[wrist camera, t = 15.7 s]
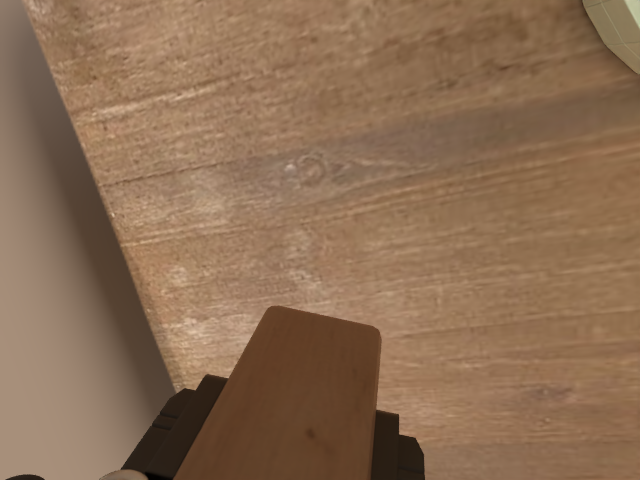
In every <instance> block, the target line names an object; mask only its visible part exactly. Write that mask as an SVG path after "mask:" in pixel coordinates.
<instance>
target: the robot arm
mask: <svg viewBox="0 0 640 480" xmlns="http://www.w3.org/2000/svg"><path fill="white" fill-rule="evenodd" d="M228 379H229V378H224V377H219V376H214V375H209V374H207V375H205V377H204V378H203V380H202V381H201V383H200V384H199V386H198V388H197V389H196V391H195V390H191V389H186V388H184V389H183V390H181V391H180V392H179V393H177V394H176V395H174V396H173V397H171V398H170V399H169V400H168V402H167V403H166V405H165V406H164V408H163V409H162V410H161V412H160V415H158V416H157V418H156V419H155V420H154V422H153V423H152V426H150V428H149V429H148V431H147V432H146V433H145V435H144V436H143V438H142V439H141V441H140V442H139V443H138V445H137V446H136V448H135V449H134V451H133V452H132V454H131V455H130V457H129V458H128V459H127V461H126V462H125V464H124V465H123V467H122V468H121V470H118V471H114V472H111V473H109V474H107V475H105V476H103V477H102V478H100V479H99V480H173V478H174V477H175V475H176V473H177V471H178V469H179V468H180V466H181V464H182V462H183V460H184V459H185V457H186V455H187V453H188V451H189V449H190V448H191V446H192V444H193V442H194V440H195V439H196V437H197V435H198V433H199V431H200V430H201V428H202V426H203V424H204V422H205V420H206V419H207V417H208V415H209V413H210V411H211V410H212V408H213V406H214V404H215V402H216V401H217V399H218V397H219V395H220V393H221V391H222V390H223V388H224V386H225V384H226V382H227V381H228ZM424 471H425V470H424V454H423V452H422V450H421V448H420V446H419V444H418V442H417V440H416V438H413V437H409V436H404V435H399V414H394V413H390V412H385V411H380V410H376V417H375V430H374V443H373V455H372V468H371V480H425V475H424ZM6 480H44V479H43V478H42V477H40V476H36V475H19V476H15V477H11V478H9V479H6Z"/></svg>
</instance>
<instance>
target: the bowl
mask: <svg viewBox="0 0 640 480" xmlns="http://www.w3.org/2000/svg"><path fill="white" fill-rule="evenodd" d="M582 1H583V5H584V8H585V10H586V12H587V14H588V16H589V17H590V19H591V21H592V23H593V24H594V26H595V28H596V30H597V32H598V33H599V35H600V37H601V39H602V40H603V42H604V44H605V45H606V46H607V47H608V48H609V49H610V50H611V51H612V52H613V53H614V54H616V55H617V56H618V57H619V58H620V59H621V60H622V61H623V62H624V63H625V64H627V65H628V66H629V67H630V68H631V69H632V70H633V71H634V72H636V73H637V74H639V75H640V0H582Z"/></svg>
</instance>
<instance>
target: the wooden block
mask: <svg viewBox="0 0 640 480" xmlns="http://www.w3.org/2000/svg"><path fill="white" fill-rule="evenodd" d="M381 341H382V340H381V336H380V332H379V330H378V329H376V328H375V327H373V326H370V325H366V324H361V323H356V322H352V321H347V320H342V319H338V318H333V317H329V316H324V315H319V314H315V313H310V312H305V311H301V310H296V309H292V308H287V307H282V306H271V307H269V308H268V309H267V311H266V312H265V314H264V315H263V317H262V319H261V321H260V323H259V324H258V326H257V328H256V330H255V332H254V333H253V335H252V337H251V339H250V341H249V343H248V344H247V346H246V348H245V350H244V352H243V353H242V355H241V357H240V359H239V361H238V362H237V364H236V366H235V368H234V370H233V372H232V373H231V375H230V377H229V379H228V381H227V382H226V384H225V386H224V388H223V390H222V391H221V393H220V395H219V397H218V399H217V401H216V402H215V404H214V406H213V408H212V410H211V411H210V413H209V415H208V417H207V419H206V420H205V422H204V424H203V426H202V428H201V430H200V431H199V433H198V435H197V437H196V439H195V440H194V442H193V444H192V446H191V448H190V449H189V451H188V453H187V455H186V457H185V459H184V460H183V462H182V464H181V466H180V468H179V469H178V471H177V473H176V475H175V477H174V478H173V480H371V468H372V455H373V443H374V430H375V417H376V405H377V392H378V379H379V367H380V354H381Z"/></svg>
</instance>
